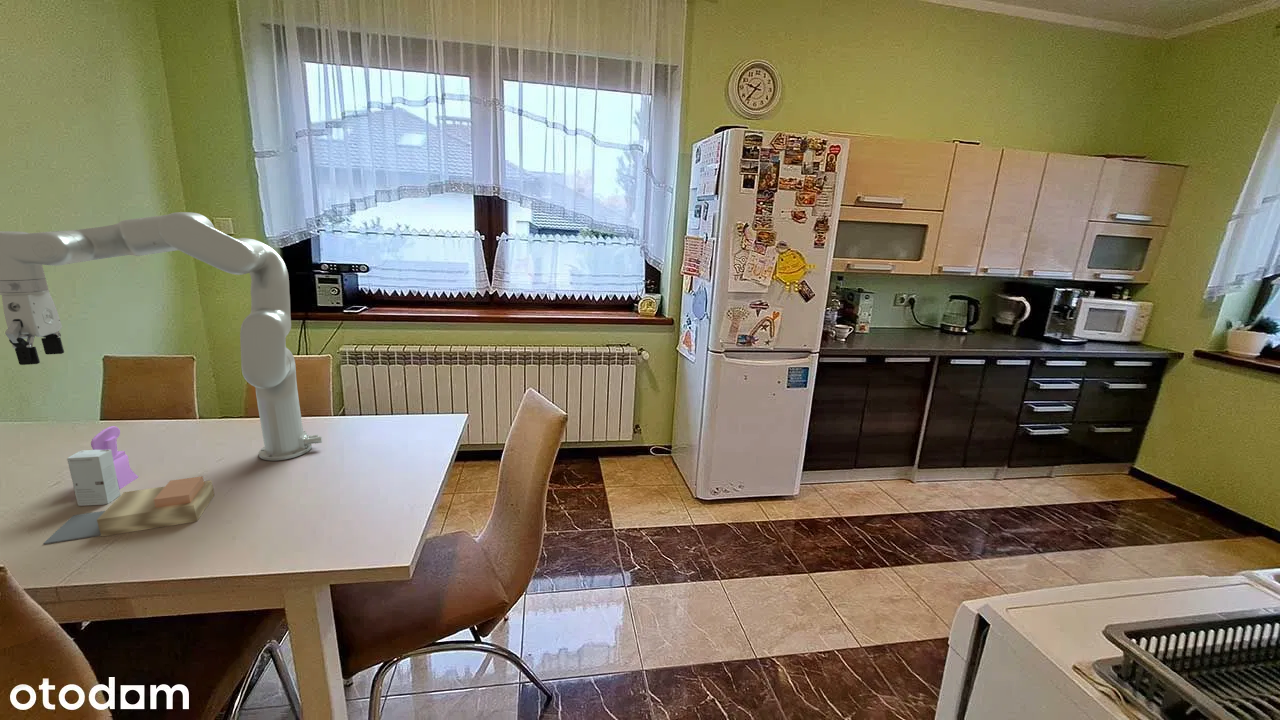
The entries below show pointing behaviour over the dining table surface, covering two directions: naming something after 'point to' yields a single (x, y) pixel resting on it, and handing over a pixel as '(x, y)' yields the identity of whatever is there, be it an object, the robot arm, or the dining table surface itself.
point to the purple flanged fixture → (115, 454)
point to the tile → (179, 492)
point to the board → (151, 511)
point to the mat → (77, 528)
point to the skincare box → (94, 477)
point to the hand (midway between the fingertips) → (42, 358)
